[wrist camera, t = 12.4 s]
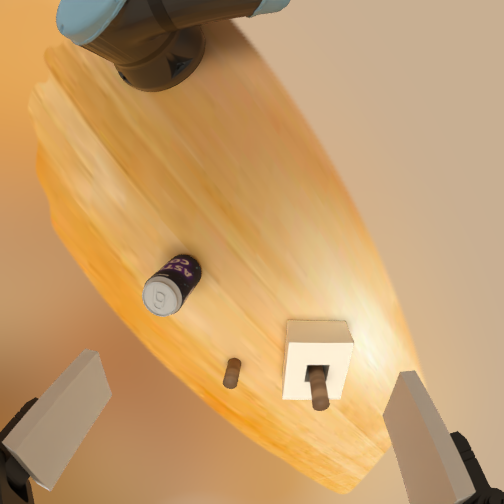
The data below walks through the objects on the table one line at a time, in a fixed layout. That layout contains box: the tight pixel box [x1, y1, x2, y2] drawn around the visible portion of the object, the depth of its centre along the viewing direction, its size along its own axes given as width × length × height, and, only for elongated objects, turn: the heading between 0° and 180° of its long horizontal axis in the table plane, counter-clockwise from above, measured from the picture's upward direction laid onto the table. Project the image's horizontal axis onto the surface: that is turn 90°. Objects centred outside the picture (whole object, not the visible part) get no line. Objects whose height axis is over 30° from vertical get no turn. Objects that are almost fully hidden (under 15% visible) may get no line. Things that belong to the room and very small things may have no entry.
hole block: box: [282, 320, 354, 400], centre depth 45 cm, size 12×10×7 cm
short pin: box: [223, 358, 241, 389], centre depth 48 cm, size 2×2×6 cm
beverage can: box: [142, 255, 201, 317], centre depth 41 cm, size 6×6×12 cm
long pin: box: [308, 365, 330, 411], centre depth 42 cm, size 2×2×14 cm
